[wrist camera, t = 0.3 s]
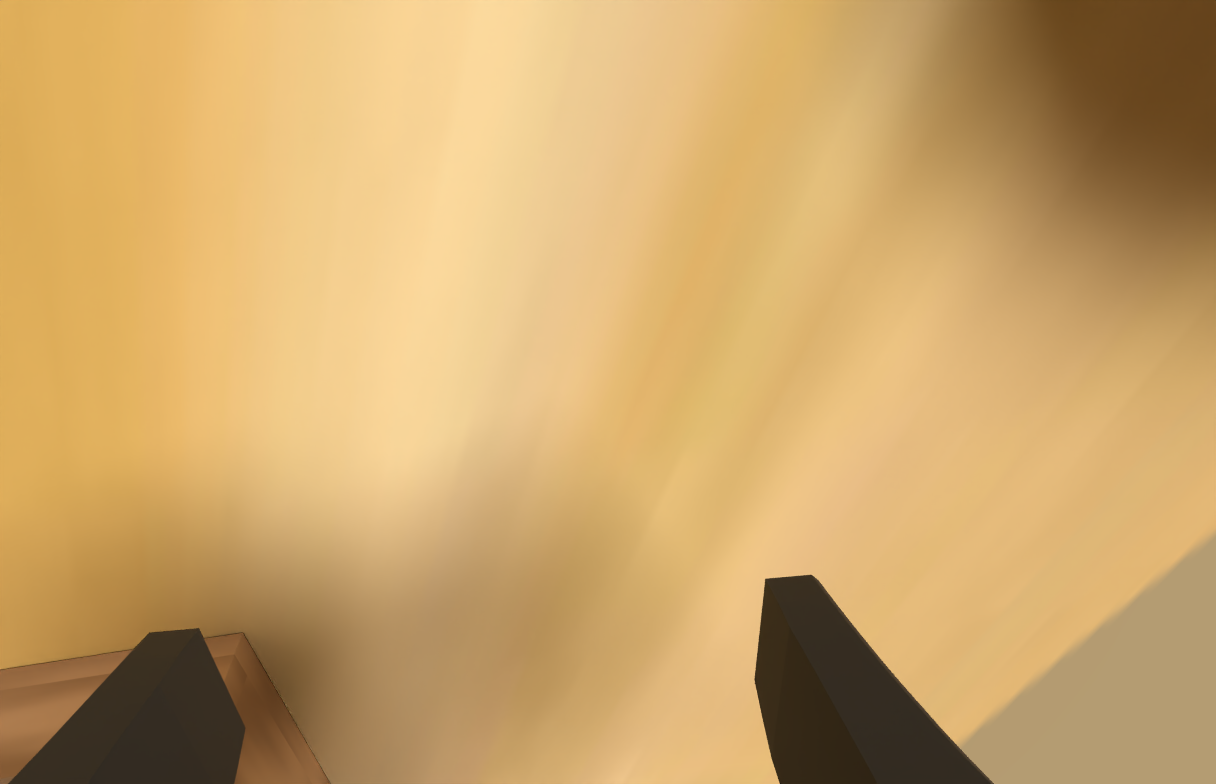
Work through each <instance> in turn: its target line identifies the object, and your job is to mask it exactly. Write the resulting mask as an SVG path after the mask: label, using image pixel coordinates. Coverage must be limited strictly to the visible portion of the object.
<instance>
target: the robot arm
mask: <svg viewBox="0 0 1216 784" xmlns="http://www.w3.org/2000/svg"><path fill="white" fill-rule="evenodd" d="M755 684H756V689H757V694H758V699H759V703H760V708H761V713H762V718H763V722H764V727H765V731H766V735H767V740H768V744H769V749H770V753H771V757H772V761H773V764H774V767H775V770H776V773H777V776H778V779H779V782H780V784H994V783H992V781H991V780H989V778H988V777H987V776H986V775H985V774H984V773H983V772H982V771H981V770H980V769H979V768H978V767H977V766H976V765H975V764H974V763H973V762H972V761H971V760H970V759H969V758H968V757H967V756H966V755H965V754H964V753H963V751H962V750H961V749H960V748H959V747H958V746H957V745H956V744H955V743H954V742H953V741H952V740H951V739H950V737H949V736H948V735H947V734H946V733H945V732H944V731H943V730H942V729H941V728H940V727H939V725H938V724H937V723H936V722H935V721H934V720H933V719H932V718H931V716H930V715H929V714H928V713H927V712H926V711H925V710H924V709H923V707H922V706H921V705H920V704H919V703H918V702H917V701H916V700H915V698H914V697H913V696H912V695H911V694H910V693H909V692H908V691H907V689H906V688H905V687H904V686H903V685H902V684H901V683H900V681H899V680H898V679H897V678H896V677H895V676H894V674H893V673H892V672H891V671H890V670H889V669H888V667H887V666H886V665H885V664H884V663H883V661H882V660H881V659H880V658H879V657H878V655H877V654H876V653H875V652H874V650H873V649H872V648H871V647H870V646H869V644H868V643H867V642H866V641H865V640H864V638H863V637H862V636H861V635H860V633H859V632H858V631H857V630H856V628H855V627H854V626H853V625H852V623H851V622H850V621H849V620H848V618H847V617H846V616H845V614H844V613H843V612H842V611H841V609H840V608H839V607H838V605H837V604H836V603H835V602H834V600H833V599H832V598H831V596H830V595H829V594H828V592H827V591H826V590H825V588H824V587H823V586H822V584H821V583H820V582H819V581H818V580H817V579H816V578H815V577H814V576H812V575H804V576H792V577H781V578H769V579H765V588H764V597H763V606H762V616H761V625H760V634H759V643H758V653H757V662H756V671H755ZM245 729H246V728H245V725H244V723H243V721H242V719H241V717H240V715H239V713H238V710H237V708H236V706H235V704H234V702H233V700H232V698H231V696H230V693H229V691H228V689H227V687H226V685H225V683H224V681H223V678H222V676H221V674H220V672H219V670H218V668H217V666H216V664H215V661H214V659H213V657H212V655H211V653H210V651H209V649H208V646H207V644H206V642H205V640H204V638H203V636H202V634H201V631H200V629H199V628H197V629H186V630H175V631H163V632H152V633H149V634H148V635H147V636H146V637H145V638H144V639H143V640H142V641H141V642H140V643H139V644H138V645H137V646H136V647H135V648H134V649H133V650H132V651H131V653H130V654H129V655H128V656H127V657H126V658H125V659H124V660H123V661H122V662H121V663H120V664H119V665H118V666H117V668H116V669H115V670H114V671H113V672H112V673H111V674H110V675H109V676H108V677H107V678H106V679H105V681H104V682H103V683H102V684H101V685H100V686H99V687H98V688H97V689H96V690H95V691H94V692H93V693H92V695H91V696H90V697H89V698H88V699H87V700H86V701H85V702H84V703H83V704H82V705H81V706H80V708H79V709H78V710H77V711H76V712H75V713H74V714H73V715H72V716H71V717H70V718H69V719H68V721H67V722H66V723H65V724H64V725H63V726H62V727H61V728H60V729H59V730H58V731H57V732H56V733H55V735H54V736H53V737H52V738H51V739H50V740H49V741H48V742H47V743H46V744H45V745H44V746H43V747H42V748H41V750H40V751H39V752H38V753H37V754H36V755H35V756H34V757H33V758H32V759H31V760H30V761H29V762H28V763H27V764H26V765H25V766H24V767H23V768H22V769H21V771H20V772H19V773H18V774H17V775H16V776H15V777H14V778H13V779H12V780H11V781H10V782H9V783H8V784H234V783H235V778H236V774H237V769H238V764H239V759H240V754H241V749H242V744H243V739H244V734H245Z"/></svg>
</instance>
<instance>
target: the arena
mask: <svg viewBox="0 0 1216 784" xmlns="http://www.w3.org/2000/svg"><path fill="white" fill-rule="evenodd" d="M204 640H205V642H206V644H207V646H208V649H209V651H210V653H211V655H212V657H213V659H214V661H215V664H216V666H217V668H218V670H219V672H220V674H221V676H222V678H223V681H224V683H225V685H226V687H227V689H228V691H229V693H230V696H231V698H232V700H233V702H234V704H235V706H236V708H237V710H238V713H239V715H240V717H241V719H242V721H243V723H244V725H245V728H246V729H245V734H244V739H243V744H242V749H241V754H240V759H239V764H238V769H237V774H236V778H235V783H234V784H330V783H329V781H328V779H327V778H326V776H325V774H324V772H323V771H322V769H321V767H320V765H319V764H318V762H317V760H316V759H315V757H314V755H313V753H312V752H311V750H310V748H309V746H308V745H307V743H306V741H305V739H304V738H303V736H302V734H301V733H300V731H299V729H298V727H297V726H296V724H295V722H294V720H293V719H292V717H291V715H290V714H289V712H288V710H287V708H286V707H285V705H284V703H283V701H282V700H281V698H280V696H279V695H278V693H277V691H276V689H275V688H274V686H273V684H272V682H271V681H270V679H269V677H268V676H267V674H266V672H265V670H264V669H263V667H262V665H261V663H260V662H259V660H258V658H257V657H256V655H255V653H254V651H253V650H252V648H251V646H250V644H249V643H248V641H247V639H246V638H245V636H244V634H243V633H238V634H231V635H225V636H218V637H212V638H205V639H204ZM131 651H132V650H127V651H121V652H114V653H108V654H101V655H95V656H88V657H82V658H75V659H69V660H62V661H56V662H50V663H43V664H37V665H30V666H24V667H17V668H11V669H4V670H0V784H8V783H9V782H10V781H11V780H12V779H13V778H14V777H15V776H16V775H17V774H18V773H19V772H20V771H21V769H22V768H23V767H24V766H25V765H26V764H27V763H28V762H29V761H30V760H31V759H32V758H33V757H34V756H35V755H36V754H37V753H38V752H39V751H40V750H41V748H42V747H43V746H44V745H45V744H46V743H47V742H48V741H49V740H50V739H51V738H52V737H53V736H54V735H55V733H56V732H57V731H58V730H59V729H60V728H61V727H62V726H63V725H64V724H65V723H66V722H67V721H68V719H69V718H70V717H71V716H72V715H73V714H74V713H75V712H76V711H77V710H78V709H79V708H80V706H81V705H82V704H83V703H84V702H85V701H86V700H87V699H88V698H89V697H90V696H91V695H92V693H93V692H94V691H95V690H96V689H97V688H98V687H99V686H100V685H101V684H102V683H103V682H104V681H105V679H106V678H107V677H108V676H109V675H110V674H111V673H112V672H113V671H114V670H115V669H116V668H117V666H118V665H119V664H120V663H121V662H122V661H123V660H124V659H125V658H126V657H127V656H128V655H129V654H130V653H131Z"/></svg>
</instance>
